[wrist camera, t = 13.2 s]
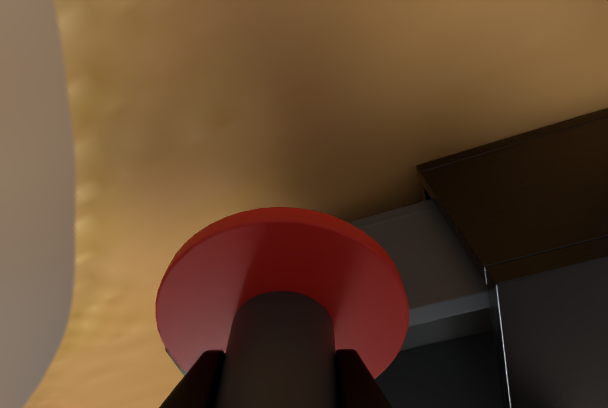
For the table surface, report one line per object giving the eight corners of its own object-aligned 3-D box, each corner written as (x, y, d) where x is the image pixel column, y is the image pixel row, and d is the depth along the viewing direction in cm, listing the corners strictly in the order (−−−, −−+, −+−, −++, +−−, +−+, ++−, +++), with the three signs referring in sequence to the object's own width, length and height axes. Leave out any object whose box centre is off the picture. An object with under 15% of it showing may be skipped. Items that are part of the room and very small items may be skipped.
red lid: (392, 386, 11) (440, 598, 7) (184, 389, 11) (120, 600, 7) (418, 203, 8) (523, 389, 4) (138, 207, 8) (-10, 396, 4)
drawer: (244, 387, 25) (226, 512, 19) (162, 259, 20) (103, 373, 14) (521, 324, 22) (602, 445, 16) (508, 159, 17) (617, 246, 11)
